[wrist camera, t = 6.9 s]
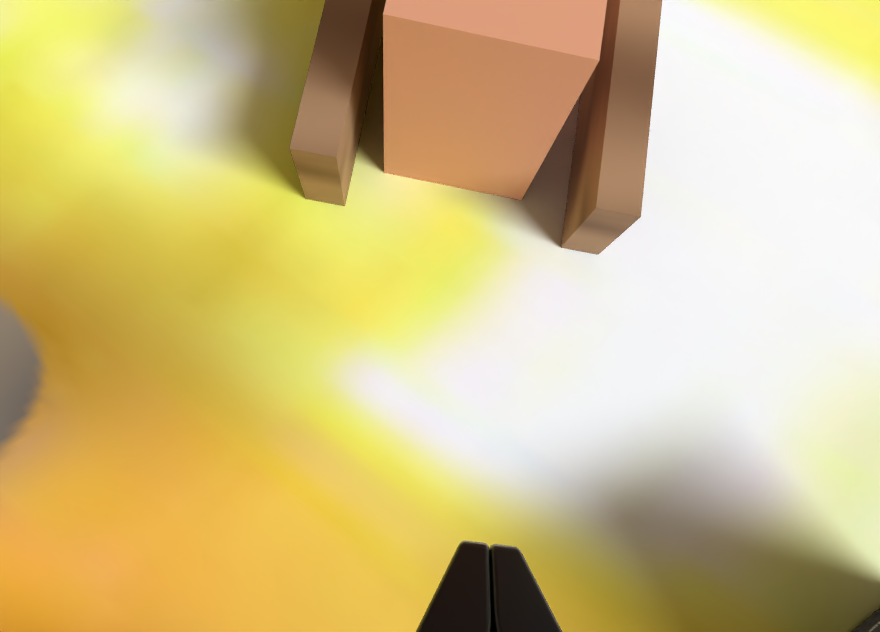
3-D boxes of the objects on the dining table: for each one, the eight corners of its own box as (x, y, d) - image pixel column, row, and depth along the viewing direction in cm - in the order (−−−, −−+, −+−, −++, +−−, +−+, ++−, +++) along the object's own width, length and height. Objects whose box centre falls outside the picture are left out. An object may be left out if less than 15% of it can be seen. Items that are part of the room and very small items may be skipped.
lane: (598, 254, 23) (640, 216, 20) (305, 198, 23) (289, 147, 19) (632, -43, 27) (674, -127, 23) (375, -99, 26) (373, -195, 22)
